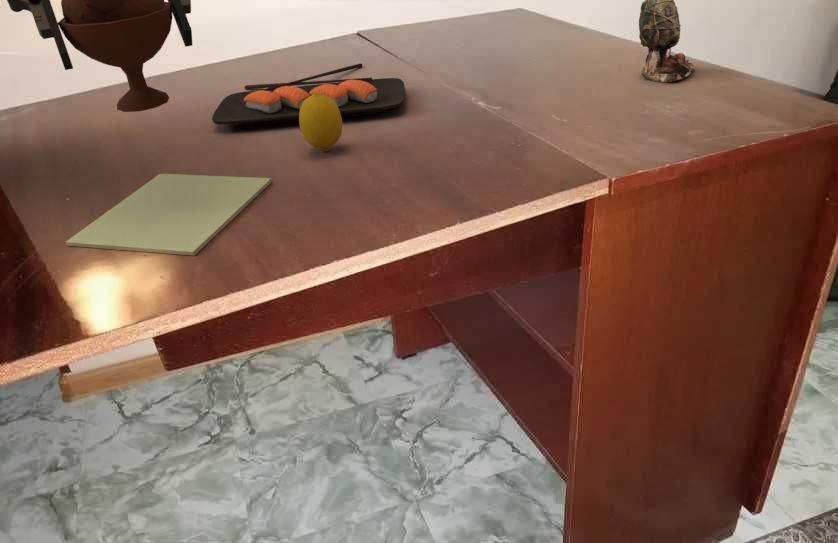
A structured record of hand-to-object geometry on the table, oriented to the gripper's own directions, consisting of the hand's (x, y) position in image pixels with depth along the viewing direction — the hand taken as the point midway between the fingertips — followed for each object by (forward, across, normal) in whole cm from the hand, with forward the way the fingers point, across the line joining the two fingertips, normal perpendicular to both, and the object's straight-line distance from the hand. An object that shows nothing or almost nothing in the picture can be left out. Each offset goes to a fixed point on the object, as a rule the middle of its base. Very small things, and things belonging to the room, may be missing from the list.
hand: (129, 49), depth 70 cm
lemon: (+8, -21, -19) cm, 29 cm away
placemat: (+12, 0, -14) cm, 19 cm away
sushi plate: (-9, -29, -36) cm, 47 cm away
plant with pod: (+12, -75, -15) cm, 77 cm away
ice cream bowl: (+3, 0, -6) cm, 7 cm away
